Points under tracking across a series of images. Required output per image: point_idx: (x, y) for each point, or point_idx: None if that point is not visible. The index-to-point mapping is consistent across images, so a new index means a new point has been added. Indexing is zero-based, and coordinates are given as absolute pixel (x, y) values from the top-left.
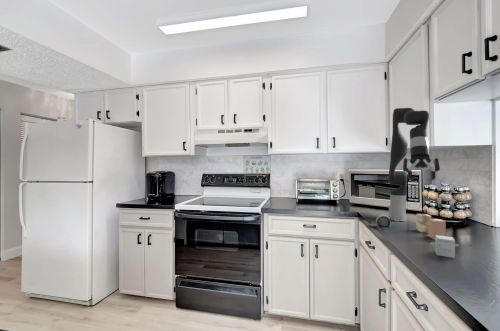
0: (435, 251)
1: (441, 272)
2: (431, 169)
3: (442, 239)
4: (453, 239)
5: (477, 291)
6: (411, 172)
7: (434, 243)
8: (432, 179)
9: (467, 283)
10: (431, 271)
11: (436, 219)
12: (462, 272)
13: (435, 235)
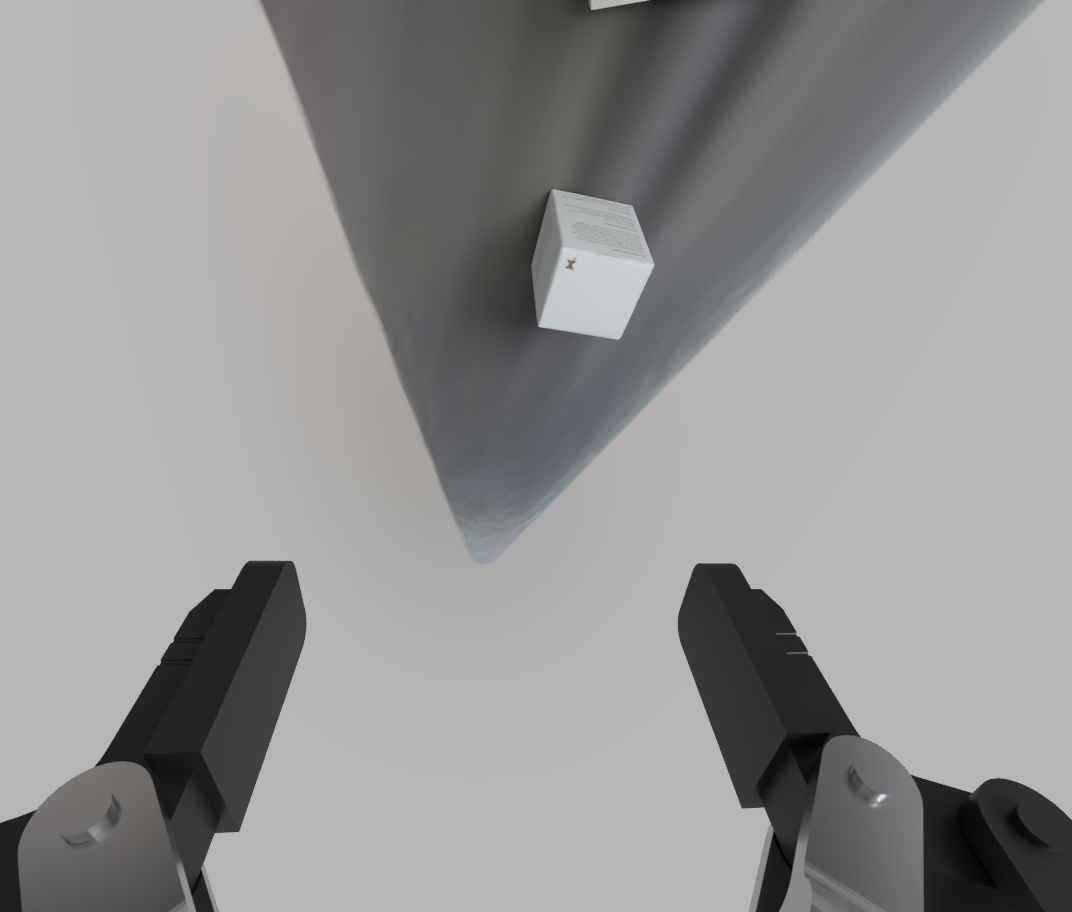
0: (540, 232)
1: (477, 433)
2: (763, 889)
3: (561, 330)
4: (622, 324)
5: (524, 495)
6: (238, 794)
7: (622, 2)
8: (680, 618)
9: (522, 470)
10: (447, 435)
11: None
12: (548, 414)
13: (557, 257)
